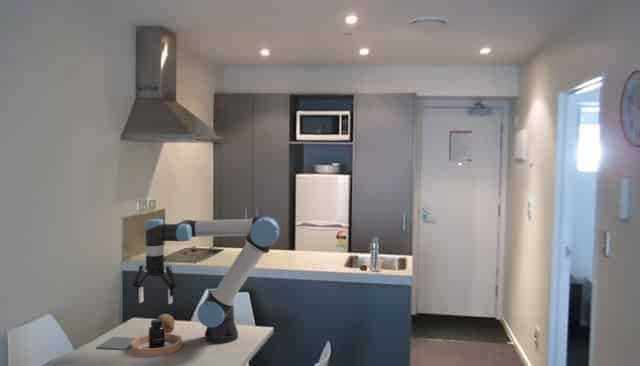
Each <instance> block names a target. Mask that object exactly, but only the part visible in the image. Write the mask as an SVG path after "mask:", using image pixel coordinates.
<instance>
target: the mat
mask: <svg viewBox="0 0 640 366" xmlns="http://www.w3.org/2000/svg"><path fill="white" fill-rule="evenodd" d="M136 338H137V337H123V336H122V337H121V336H112V337H111V338H109V339H107V340H106V341H104V342H102V343H101V344H99V345H98V346H96V347H95V349H96V350H98V349H100V350H116V351H128V349H130V348H132V344H131V342H132V341H133V340H135V339H136Z"/></svg>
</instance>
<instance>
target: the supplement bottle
mask: <svg viewBox="0 0 640 366" xmlns="http://www.w3.org/2000/svg"><path fill="white" fill-rule="evenodd" d="M162 324H163V323H162V320H160V319H157V318H156V319H152V320H151V321H150V327H148V335H149V342H148V348H150V349H153V348H161V347H166V340H165V328H164V326H162Z"/></svg>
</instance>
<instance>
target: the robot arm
mask: <svg viewBox="0 0 640 366" xmlns="http://www.w3.org/2000/svg"><path fill="white" fill-rule="evenodd" d="M144 229H145V230H144V231H145V255H146V256H145V264H146V265H145V264H141V265H139V268H138V272H137V274H136V276H135V278H134V281H133V282H132V287H135V288H136V294H137V296H138V303H139V304H141V303H143V302H144V301H145V300H144V286H143V285H144V283H146V281H147V280H148V278H149V277H150V276H151V277H160V279H162V280H163V282H164V283H165V284H166V286H167V287H168V288H167V299H168V300H167V303H168V305H171V304H172V303H173V301H174V300H173V297H174V296H175V289H176V288H178V287H179V283H178V281H177V279H176V276H175V275H174V273H173V271H172V266H171V265H166V266H165V256H164V252H165V247H164V246H165V245H164V242H180V243H181V242H183V243H184V242H188V241H190V240H191V238H197V237H199V238H200V237H203V238H204V237H245V244H244V246H243V247H242V249H241V251H240V252H239V254H238V255H237V256H236V258H235V260H234V261H233V262H232V264H231V265H230V267H229V269H228V271H227V272H226V274H225V275H224V276H223V279H221V281H220V283H219V285H218V286H217V287H216V288H215V287H214V288H210V289H208V291H207V296H206V298H205V299H204V301H203V302H202V303H201V304H200V305H199V306H198V309H197V319H198V321H199V322H200V323H201V324H202V325H203V326H205V327H206V329H205V333H204V340H205V342H208V343H212V344H226V343H231V342H233V341H236V340H237V339H238V338H239V332H238V329H237V325H236V323H235V310H234V309H235V308H234V307H235V300H234V298H235V297H236V296H237V294H238V292H239V291H240V289H241V288H242V287H243V286H244V284H245V282H246V281H247V279H248V277H249V276H250V274H251V273H252V272H253V270H254V268H255V267H256V265H257V264H258V262H259V260H260V259H261V257H262V256H263V255H264V254H268V253H269V251H270V250H271V249H272V248H273V245H274V244H275V242H276V241H277V240H278V238H279V237H280V236H281V235H282V232H283V223H282V222H281V220H280V218H278V217H277V216H275V215H271V214H267V215H260V216H252V217H251V218H246V219H245V218H244V219H242V218H240V219H239V218H237V219H206V220H205V219H202V220H201V219H200V220H198V219H196V220H192V219H184V220H182V221H180V222H177V223H164V220H163V219H161V218H153V219H147V220H146V221H145V228H144ZM145 270H146V273H144V271H145ZM165 271H166V273H165ZM143 274H144V276H143ZM142 276H143V277H142Z"/></svg>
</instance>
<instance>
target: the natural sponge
mask: <svg viewBox="0 0 640 366" xmlns="http://www.w3.org/2000/svg"><path fill="white" fill-rule="evenodd" d="M156 319H160V320H162V323H163V324H162V326H164V328H165V333H172V332H173V331H174V329H175V323H176V322H175V319H174V317H173V316H172V315H170V314H168V313H163V314H160V315H159V316H158V317H157V318H156Z"/></svg>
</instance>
